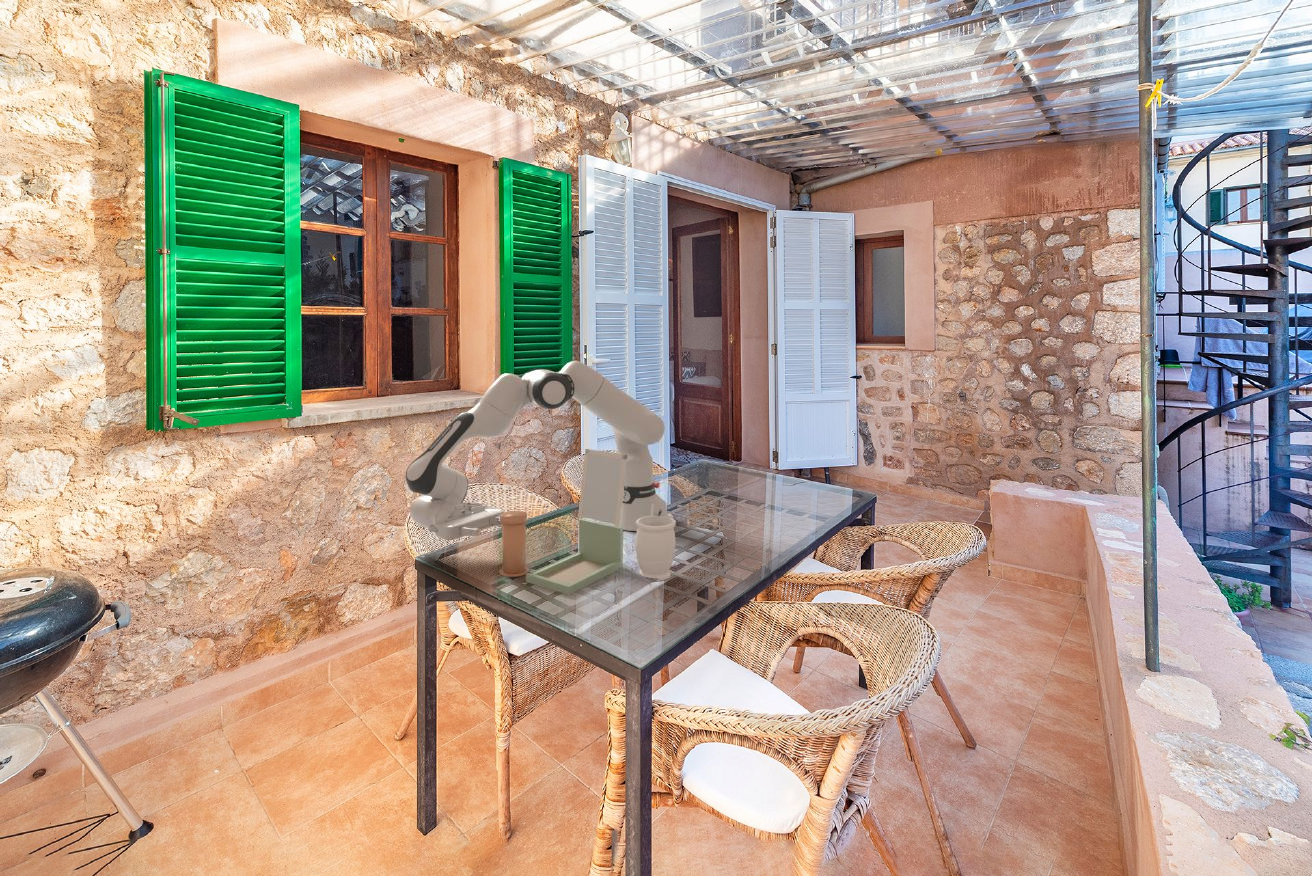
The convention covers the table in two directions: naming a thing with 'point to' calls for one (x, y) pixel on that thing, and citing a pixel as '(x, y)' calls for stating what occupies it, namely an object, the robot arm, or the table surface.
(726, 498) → the table surface
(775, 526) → the table surface
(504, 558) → the orange-brown capped cylinder
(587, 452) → the lid
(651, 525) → the jar
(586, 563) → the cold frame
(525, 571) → the terracotta round disc
